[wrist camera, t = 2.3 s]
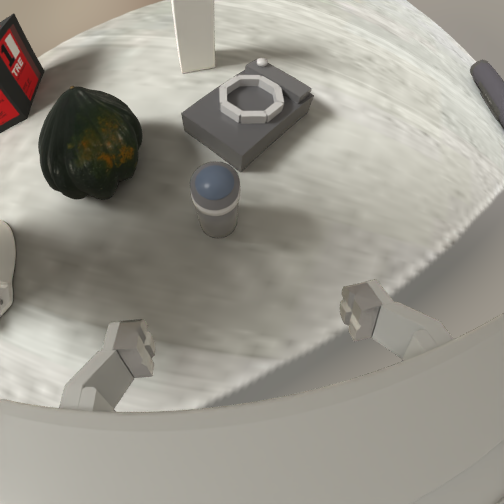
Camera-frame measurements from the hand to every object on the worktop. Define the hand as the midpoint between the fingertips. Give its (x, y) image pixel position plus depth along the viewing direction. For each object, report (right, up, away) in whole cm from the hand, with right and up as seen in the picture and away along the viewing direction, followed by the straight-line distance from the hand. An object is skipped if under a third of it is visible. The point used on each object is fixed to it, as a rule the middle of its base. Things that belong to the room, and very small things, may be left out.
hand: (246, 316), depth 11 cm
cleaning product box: (-51, +36, +28) cm, 68 cm away
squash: (-22, +15, +25) cm, 36 cm away
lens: (-4, +6, +24) cm, 25 cm away
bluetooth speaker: (+69, +44, +40) cm, 91 cm away
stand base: (0, +23, +29) cm, 36 cm away
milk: (-10, +37, +32) cm, 50 cm away
